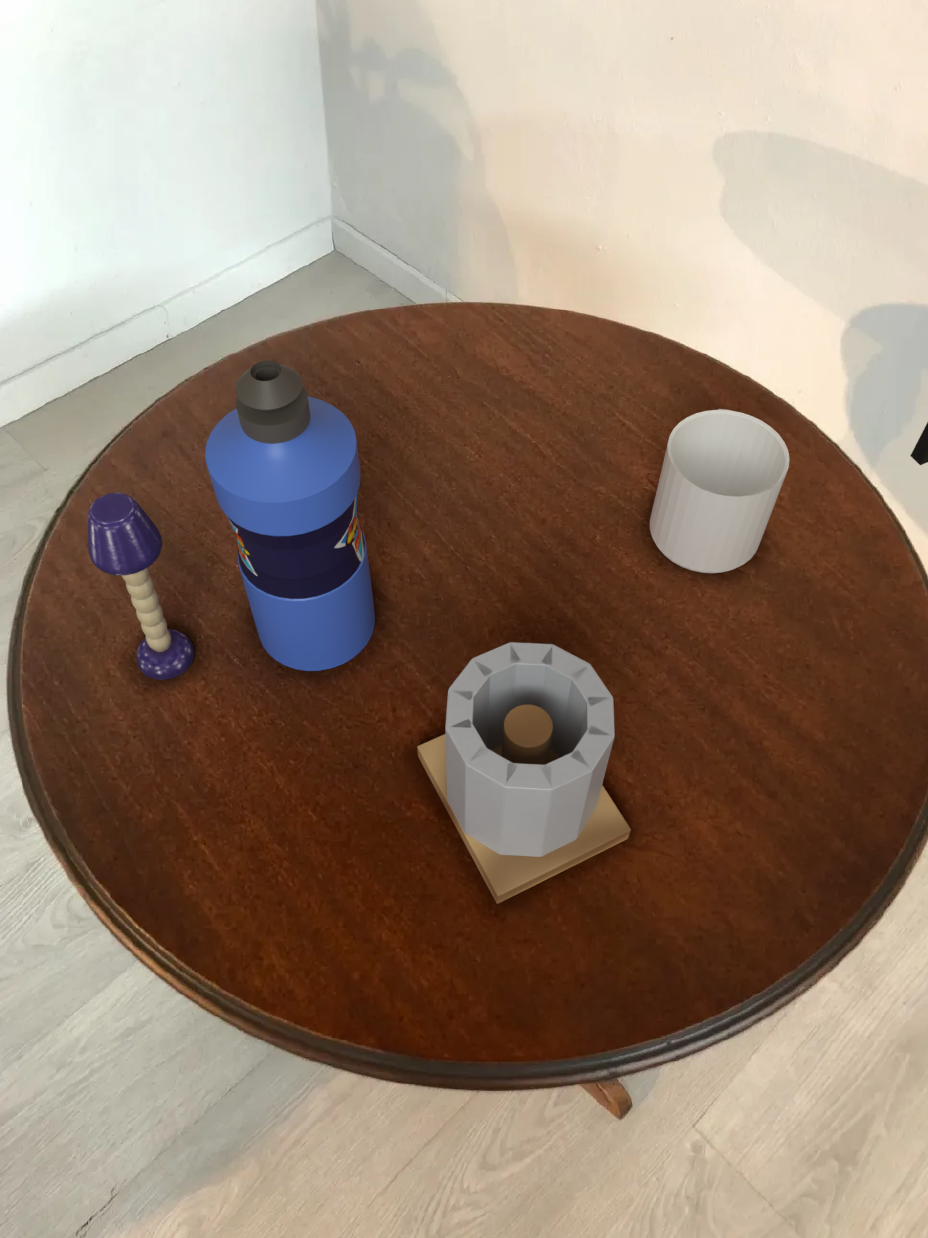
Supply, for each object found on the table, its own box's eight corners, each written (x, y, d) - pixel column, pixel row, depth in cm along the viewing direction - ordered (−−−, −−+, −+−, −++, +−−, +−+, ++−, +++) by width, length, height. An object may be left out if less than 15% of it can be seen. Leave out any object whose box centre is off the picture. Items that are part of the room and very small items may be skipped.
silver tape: (623, 816, 67) (646, 745, 59) (490, 881, 65) (495, 816, 57) (549, 700, 73) (560, 620, 64) (423, 756, 70) (418, 680, 62)
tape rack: (628, 838, 68) (651, 771, 60) (497, 904, 66) (502, 843, 57) (540, 701, 74) (550, 622, 66) (417, 756, 72) (412, 681, 64)
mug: (746, 588, 80) (777, 510, 73) (636, 556, 82) (654, 477, 74) (775, 484, 87) (806, 402, 79) (672, 456, 89) (692, 374, 81)
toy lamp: (171, 620, 78) (111, 469, 65) (215, 649, 77) (163, 501, 63) (125, 662, 76) (53, 515, 62) (170, 693, 75) (105, 550, 61)
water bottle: (372, 568, 81) (343, 312, 61) (381, 666, 76) (352, 421, 56) (255, 579, 81) (186, 324, 60) (256, 678, 75) (180, 435, 55)
